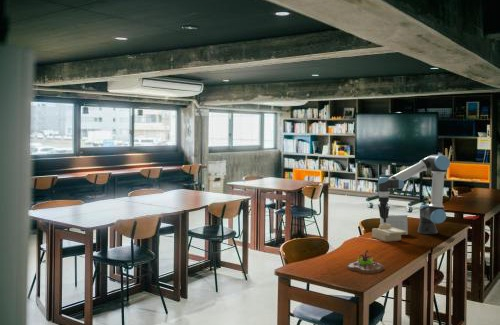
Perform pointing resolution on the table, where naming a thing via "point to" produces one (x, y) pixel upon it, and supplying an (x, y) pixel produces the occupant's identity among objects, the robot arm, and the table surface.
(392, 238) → the mailer base
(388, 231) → the lid
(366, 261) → the plant
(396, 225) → the skincare box
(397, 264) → the table surface
